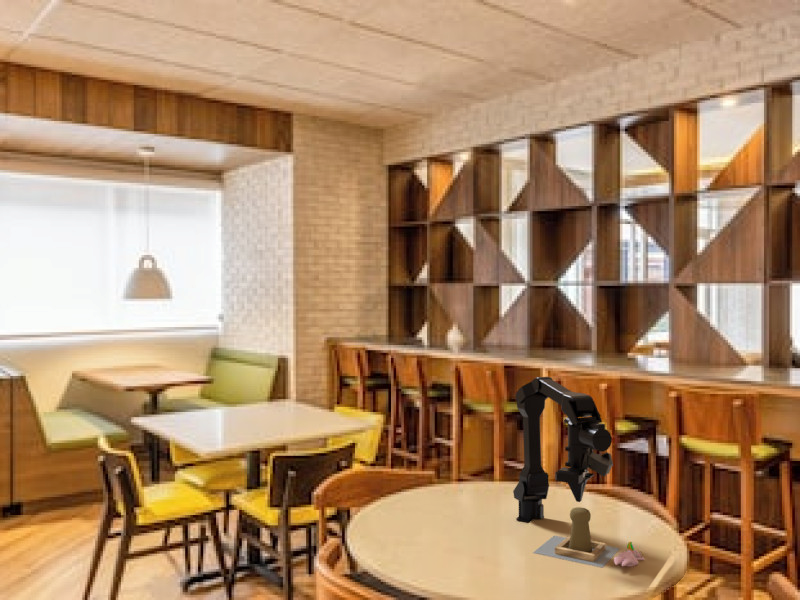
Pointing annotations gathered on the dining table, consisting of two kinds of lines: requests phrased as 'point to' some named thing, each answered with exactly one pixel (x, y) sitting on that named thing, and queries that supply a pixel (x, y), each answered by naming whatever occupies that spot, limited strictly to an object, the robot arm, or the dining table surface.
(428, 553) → the dining table surface
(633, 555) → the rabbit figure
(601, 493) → the dining table surface
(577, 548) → the tan tapered cylinder
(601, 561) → the grey base plate
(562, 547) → the snap socket
